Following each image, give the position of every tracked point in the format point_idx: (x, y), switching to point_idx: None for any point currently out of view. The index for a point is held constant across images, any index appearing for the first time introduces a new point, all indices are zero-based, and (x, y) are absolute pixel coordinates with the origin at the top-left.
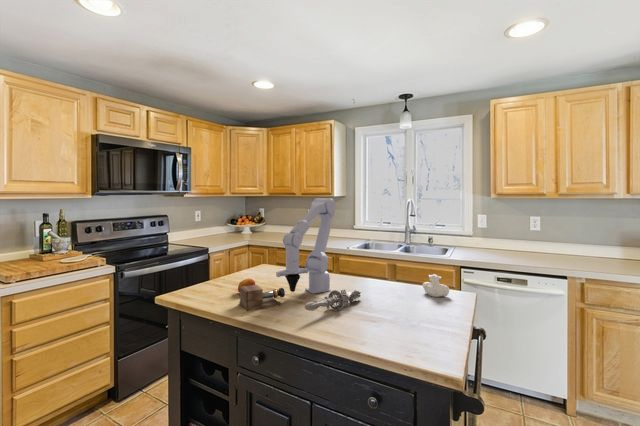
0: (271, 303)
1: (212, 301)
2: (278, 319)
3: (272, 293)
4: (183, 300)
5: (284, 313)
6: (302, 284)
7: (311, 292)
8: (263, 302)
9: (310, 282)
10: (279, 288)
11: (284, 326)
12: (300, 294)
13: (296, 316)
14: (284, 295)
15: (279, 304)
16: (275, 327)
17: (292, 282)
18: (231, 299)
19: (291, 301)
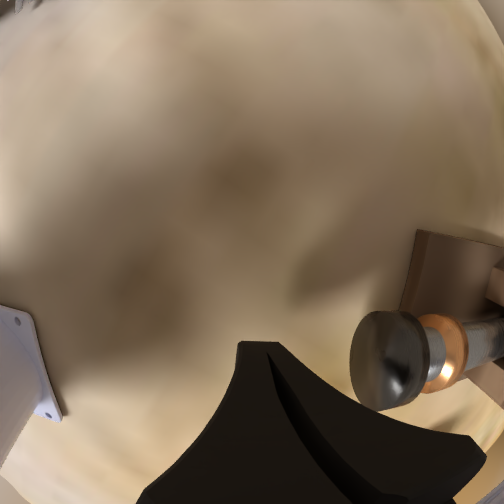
0: (462, 260)
1: (490, 407)
2: (479, 59)
3: (471, 335)
4: (498, 424)
5: (447, 83)
6: (67, 468)
7: (37, 341)
8: (471, 307)
9: (5, 411)
10: (411, 398)
11: (467, 3)
12: (125, 371)
13: (405, 4)
14: (378, 311)
15: (424, 231)
16: (491, 27)
17: (345, 417)
18: (462, 417)
19: (296, 260)
